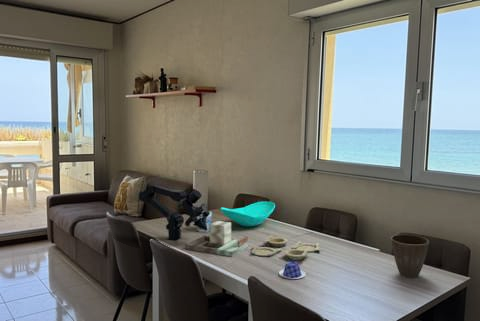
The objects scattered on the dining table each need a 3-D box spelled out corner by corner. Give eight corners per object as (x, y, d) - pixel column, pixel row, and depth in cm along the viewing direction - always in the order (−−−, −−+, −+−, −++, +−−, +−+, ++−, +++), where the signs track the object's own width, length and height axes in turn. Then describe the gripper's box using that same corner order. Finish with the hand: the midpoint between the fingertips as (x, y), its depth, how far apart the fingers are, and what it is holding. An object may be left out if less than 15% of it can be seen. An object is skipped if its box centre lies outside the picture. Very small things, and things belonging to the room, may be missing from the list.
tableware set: (325, 247, 205) (325, 240, 205) (312, 265, 179) (312, 257, 179) (265, 239, 220) (265, 233, 220) (244, 255, 194) (244, 247, 193)
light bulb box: (207, 232, 235) (207, 215, 234) (197, 231, 237) (196, 214, 236) (212, 227, 246) (212, 211, 245) (202, 227, 247) (202, 211, 246)
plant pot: (409, 284, 156) (410, 246, 154) (382, 271, 169) (383, 236, 168) (435, 278, 162) (436, 241, 160) (407, 266, 175) (408, 233, 174)
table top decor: (259, 217, 274) (259, 199, 273) (284, 225, 251) (285, 205, 250) (212, 225, 252) (211, 205, 250) (235, 235, 229) (235, 213, 228)
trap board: (186, 248, 203) (185, 238, 203) (204, 239, 220) (204, 230, 220) (232, 256, 191) (232, 245, 190) (248, 245, 208) (248, 236, 207)
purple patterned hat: (288, 267, 176) (288, 256, 175) (311, 274, 168) (311, 262, 168) (273, 275, 166) (273, 264, 166) (297, 282, 159) (297, 270, 158)
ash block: (209, 242, 207) (209, 224, 206) (217, 238, 214) (216, 220, 213) (224, 244, 203) (224, 225, 202) (231, 240, 210) (231, 222, 209)
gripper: (189, 202, 204) (206, 225, 200) (207, 196, 221) (223, 217, 217) (177, 215, 208) (194, 237, 204) (195, 209, 225) (212, 229, 221)
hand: (206, 230), depth 212 cm, fingers closed
